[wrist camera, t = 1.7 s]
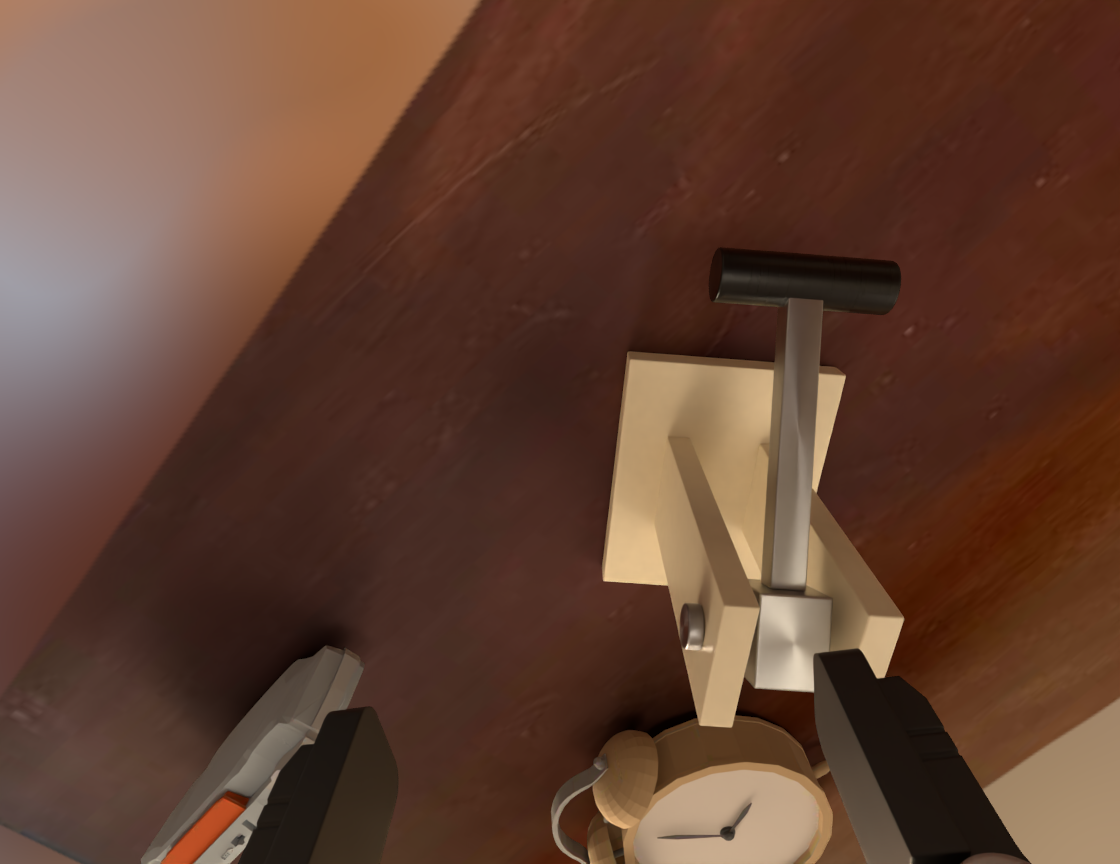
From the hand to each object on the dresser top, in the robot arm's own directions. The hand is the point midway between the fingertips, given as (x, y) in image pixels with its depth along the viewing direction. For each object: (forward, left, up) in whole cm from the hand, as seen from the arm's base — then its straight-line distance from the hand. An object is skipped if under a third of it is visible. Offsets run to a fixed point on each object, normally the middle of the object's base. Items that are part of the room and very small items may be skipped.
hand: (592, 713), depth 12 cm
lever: (+3, +6, -11) cm, 13 cm away
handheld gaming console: (+11, -22, -19) cm, 31 cm away
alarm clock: (+25, -4, -19) cm, 31 cm away
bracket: (+7, +4, -19) cm, 20 cm away
